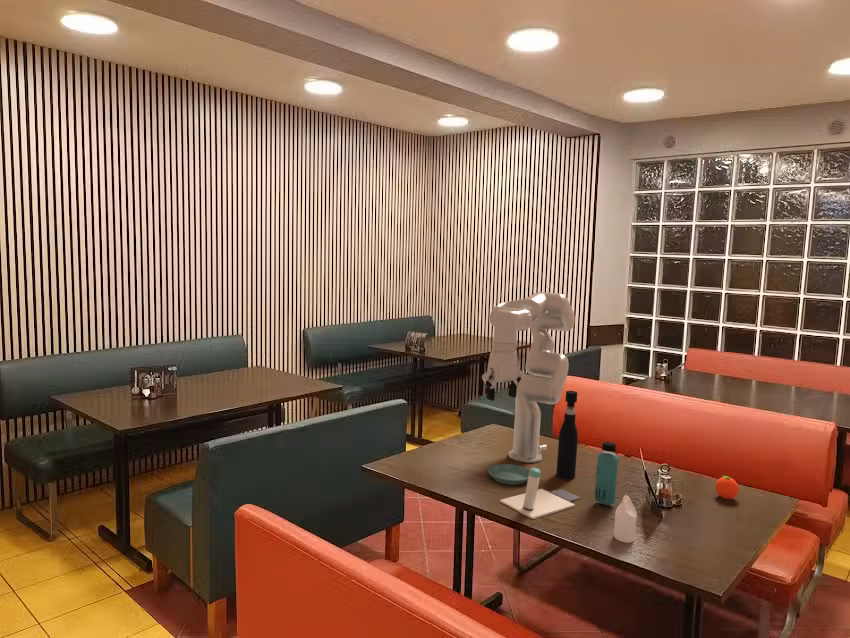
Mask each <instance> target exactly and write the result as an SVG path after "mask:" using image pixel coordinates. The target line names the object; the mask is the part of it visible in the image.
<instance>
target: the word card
mask: <svg viewBox="0 0 850 638" xmlns="http://www.w3.org/2000/svg"><path fill="white" fill-rule="evenodd" d="M550 493H552V494H554V495H556V496H558V497H560V498H562V499H564V500H566V501H568V502H571V503H572V502H574V501H578V500H581V497H580V496H578V495H577V494H576V495H575V494H574V493H571V492H570V491H567V490H565V489H563V488H559V489H556V490H555V489H554V490H552V491H551V490H550Z"/></svg>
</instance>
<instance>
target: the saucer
mask: <svg viewBox="0 0 850 638" xmlns="http://www.w3.org/2000/svg"><path fill="white" fill-rule="evenodd" d="M529 472H530V469H528V468H526V467H524V466H520V465H517V464H516V465H515V464H507V463H506V464H505V463H504V464H503V463H502V464H495V465H493V466H491V467H489V468H488V474H489V475H490V476H491V478H492V479H494V481H496V482H498V483H500V484H502V485H503V484H504V485H511V486H512V485H513V486H518V485H521V484H524V483H525V482H526V483H527V482H528V477H529Z"/></svg>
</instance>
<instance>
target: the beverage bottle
mask: <svg viewBox="0 0 850 638" xmlns="http://www.w3.org/2000/svg"><path fill="white" fill-rule="evenodd" d="M616 447H617V444H616V443H615V442H612V441H603V442H602V446H601V450H602V452H600V453H598V455H597V462H596V464H597V466H596V468H595V471H596V474H595V476H596V477H595V482H594V483H595V486H594V494H593V495H594V500H595V502H597V503H599V504H602V505H608V506H609V505H614V504H615V503H616V498H617V489H618V488H617V484H618V483H617V482H618V481H617V480H618V471H619V470H618V469H619V460H620V459H619V456H618V455H617V454H616V453H615V452H616V450H617V448H616Z"/></svg>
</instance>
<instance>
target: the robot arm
mask: <svg viewBox="0 0 850 638" xmlns="http://www.w3.org/2000/svg"><path fill="white" fill-rule="evenodd" d="M575 316H576V315H575V312H574V310H573V308H572V306H571V303H570V301H569V299H568V298H567V296H565V295H564V294H562V293H559V292H558V293H557V292H545V291H539V292H538V291H537V292H535V293H533V294H531V295H529V296H528V297H526V298H522V299H516V300H509V301H504V302H501V303H499V304H497V305H495V306H494V307H493V308H492V310H491V312H490V314H489V323H490V325H491V326H492V327H493V344H492V350H491V351H490V352H489V358H488V363H487V368H486V369H487V370H486V372H484V374H483V373H482V376H481V379H482V381H483V384H484V386H485V387H486V399H487V400H489V401H492V402H493V401H495V399H496V398H495V397H496V395H495V394H496V389H495V388H494V387H496V385H497V383H498V384H499V383H508V382H509V385H508V393H507V394H508V397H510V398H511V397H512V398H514V400H515V401H514V402H515V403H514V404H515V408H514V409H515V410H514V429H513V444H512V449H511V450H510V451H509V452H508V453H507V455H508V458H510V459H511V460H513V461H516V462H520V463H530V464H531V463H538V462H540V461H542V460H543V455H542V453H541V452H542V451H546V450H548V446H547V444H542V445H540V430H541V420H542V419H541V417H542V413H541V409H540V407H539V405H538V403H540V404H541V403H542V404H546V405H556V404H557V403H559V401H560V400H561V397H562V395H563V391H564V388H565V384H566V380H567V377H568V373H569V366H570V364H569V359H568V357H567V355H565V354H563V353H558V352H554V350H555V340H554V339H553V337H552V335H551V334H550V333H549V332H548V330H550V331H551V330H552V331H558V332H559V331H560V332H569V331H571V330H572V329H573V328H574V326H575V322H576V318H575ZM529 329H530V330H531V334H532V343H531V346H530V349H529V351H528V355H527V357H526V361H525V370H526V372H527V374H525V373H524V372H523V370H521V369H519V367H518V365H519V360H518V352H517V347H518V343H517V338H518V332H524V331H525V332H526V331H527V330H529Z"/></svg>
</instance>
